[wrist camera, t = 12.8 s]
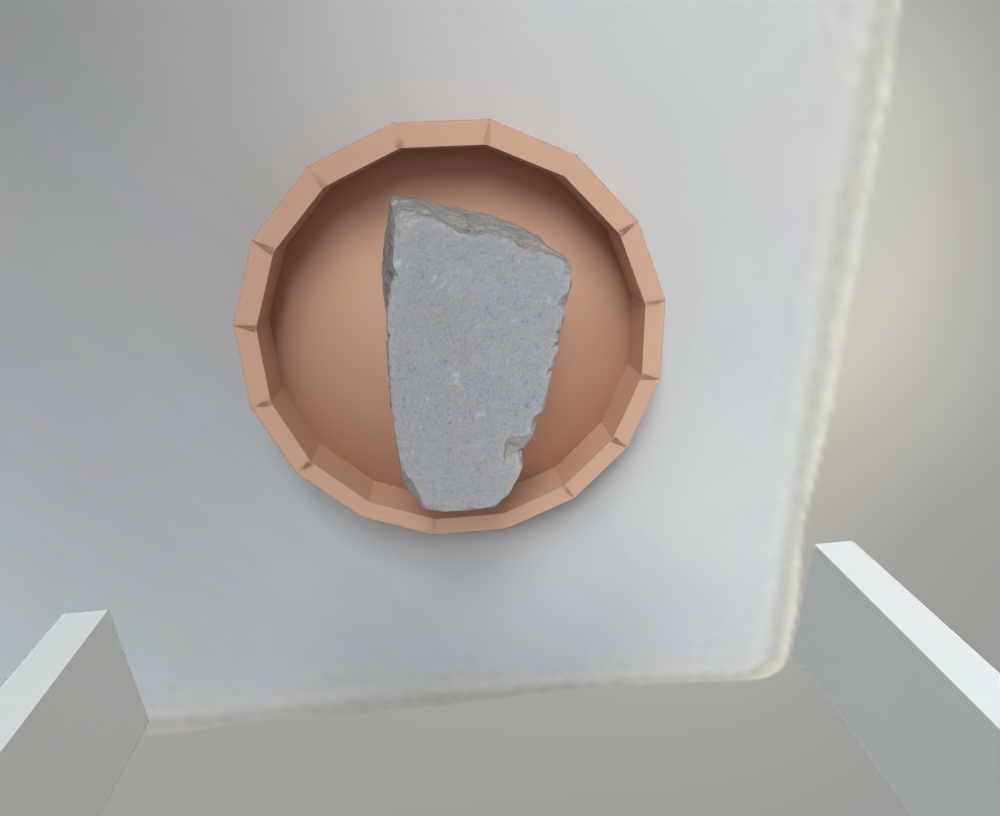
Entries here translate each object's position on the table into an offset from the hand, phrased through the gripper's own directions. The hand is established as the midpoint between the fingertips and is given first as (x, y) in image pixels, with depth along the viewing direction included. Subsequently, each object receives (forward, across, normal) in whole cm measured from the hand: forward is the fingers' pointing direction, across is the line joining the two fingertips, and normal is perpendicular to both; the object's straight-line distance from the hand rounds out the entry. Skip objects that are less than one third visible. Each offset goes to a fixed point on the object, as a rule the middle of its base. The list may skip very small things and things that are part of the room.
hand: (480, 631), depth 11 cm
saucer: (+23, 0, 0) cm, 23 cm away
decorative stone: (+22, +1, 0) cm, 22 cm away
